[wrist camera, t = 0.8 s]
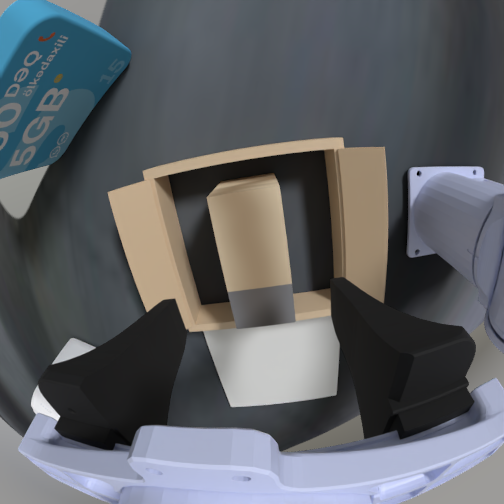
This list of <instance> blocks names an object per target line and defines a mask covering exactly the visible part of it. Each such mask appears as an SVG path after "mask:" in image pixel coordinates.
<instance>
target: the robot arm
mask: <svg viewBox="0 0 504 504" xmlns="http://www.w3.org/2000/svg"><path fill="white" fill-rule="evenodd" d="M473 170H474V173H473ZM417 171H419V175H418V176H417ZM417 249H418V250H417ZM416 250H417V252H416V253H415V251H416ZM435 253H437V254H438V255H439V256H440V257H442V258H443V259H444V260H445V261H447V262H448V263H449V264H450V265H451V266H453V267H454V268H455V269H456V270H457V271H458V272H460V273H461V274H462V275H463V276H464V277H465V278H466V279H468V280H469V281H470V282H471V283H472V284H473V285H474V286H475V287H477V288H478V290H479V297H478V301H479V302H480V303H481V304H482V305H483V306H484V307H485V308H486V309H487V311H486V314H485V318H484V325H485V330H486V333H487V335H488V337H489V339H490V340H491V341H492V343H493V344H494V345H495V346H496V347H497V348H498V349H499V350H500V351H501V352H502V353H504V185H503V184H500V183H497V182H494V181H491V180H488V179H485V178H484V170H483V168H482V167H470V166H447V167H412V168H410V169H409V170H408V236H407V255H408V256H409V257H410V258H413V257H419V256H424V255H430V254H435ZM330 290H331V318H332V322H333V326H334V330H335V333H336V336H337V338H338V341H339V343H340V346H341V348H342V351H343V353H344V356H345V359H346V361H347V364H348V366H349V369H350V372H351V375H352V378H353V382H354V386H355V391H356V395H357V400H358V404H359V409H360V415H361V420H362V426H363V432H364V439H363V440H359V441H355V442H351V443H346V444H341V445H336V446H330V447H325V448H319V449H312V450H305V451H297V452H280V451H279V448H278V444H277V442H276V441H275V440H274V439H273V438H272V437H271V436H270V435H269V434H267V433H264V432H261V431H257V430H255V429H247V428H235V427H232V428H203V427H179V426H167V419H168V411H169V404H170V398H171V393H172V389H173V385H174V381H175V378H176V375H177V372H178V369H179V366H180V363H181V359H182V356H183V353H184V349H185V344H186V337H187V330H186V328H185V325H184V322H183V319H182V316H181V314H180V311H179V308H178V305H177V302H176V299H165V300H162V301H161V302H159V303H158V304H157V305H155V306H154V307H153V308H152V309H150V310H149V311H148V312H147V313H146V314H144V315H143V316H142V317H141V318H140V319H138V320H137V321H136V322H135V323H133V324H132V325H131V326H129V327H128V328H127V329H125V330H124V331H123V332H121V333H120V334H119V335H117V336H116V337H114V338H113V339H111V340H109V341H108V342H106V343H104V344H103V345H101V346H99V347H97V348H95V349H93V350H91V351H89V352H87V353H85V354H82V355H80V356H77V357H75V358H72V359H69V360H66V361H63V362H59V363H56V364H52V365H49V366H48V368H47V369H46V370H45V372H44V373H43V375H42V376H41V378H40V379H39V381H38V387H39V390H40V392H41V394H42V395H43V397H44V398H45V399H46V401H47V402H48V403H49V404H50V405H51V406H52V408H53V409H54V410H55V411H56V412H57V413H58V414H59V415H60V418H59V420H58V421H57V420H55V419H54V418H52V417H50V416H47V415H44V414H41V413H37V414H36V416H35V418H34V420H33V421H32V423H31V425H30V427H29V429H28V430H27V432H26V434H25V436H24V438H23V440H22V442H21V444H20V445H19V448H18V450H19V452H21V453H22V454H23V455H24V456H26V457H27V458H28V459H29V460H30V461H31V462H32V463H34V464H35V465H36V466H38V467H39V468H40V469H41V470H43V471H44V472H45V473H47V474H48V475H50V476H51V477H53V478H54V479H56V480H58V481H60V482H62V483H64V484H66V485H68V486H71V487H73V488H75V489H77V490H79V491H81V492H84V493H86V494H88V495H90V496H93V497H95V498H97V499H100V500H102V501H105V502H107V503H110V504H398V503H401V502H404V501H406V500H409V499H411V498H413V497H416V496H418V495H420V494H422V493H425V492H427V491H429V490H431V489H433V488H435V487H437V486H439V485H441V484H443V483H445V482H447V481H448V480H450V479H452V478H454V477H456V476H458V475H459V474H461V473H463V472H465V471H467V470H468V469H470V468H472V467H473V466H475V465H476V464H478V463H480V462H481V461H483V460H485V459H486V458H488V457H489V456H491V455H492V454H493V453H494V452H495V451H496V450H497V449H498V448H499V447H500V446H501V445H502V444H503V443H504V389H503V387H502V386H501V384H500V383H499V381H498V380H497V378H494V379H492V380H490V381H488V382H486V383H484V384H482V385H480V386H478V387H477V388H475V389H474V390H473V391H472V392H471V393H469V392H468V390H467V388H466V387H467V386H468V385H469V382H468V380H467V379H466V377H465V376H466V374H467V371H468V369H469V367H470V365H471V363H472V361H473V358H474V355H475V352H476V345H475V342H474V340H473V339H472V338H471V337H470V335H469V334H468V333H467V332H466V330H465V329H464V328H463V327H462V326H454V325H446V324H440V323H435V322H431V321H427V320H423V319H419V318H416V317H414V316H411V315H408V314H405V313H403V312H400V311H398V310H396V309H394V308H391V307H389V306H387V305H386V304H384V303H382V302H380V301H379V300H377V299H375V298H373V297H372V296H370V295H369V294H367V293H366V292H364V291H363V290H361V289H360V288H358V287H357V286H356V285H354V284H353V283H351V282H350V281H349V280H347V279H346V278H344V277H339V278H333V279H330Z"/></svg>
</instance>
